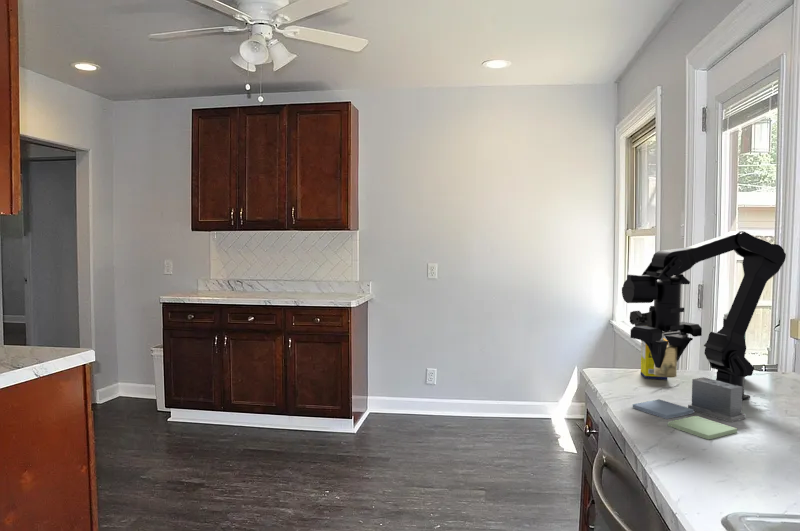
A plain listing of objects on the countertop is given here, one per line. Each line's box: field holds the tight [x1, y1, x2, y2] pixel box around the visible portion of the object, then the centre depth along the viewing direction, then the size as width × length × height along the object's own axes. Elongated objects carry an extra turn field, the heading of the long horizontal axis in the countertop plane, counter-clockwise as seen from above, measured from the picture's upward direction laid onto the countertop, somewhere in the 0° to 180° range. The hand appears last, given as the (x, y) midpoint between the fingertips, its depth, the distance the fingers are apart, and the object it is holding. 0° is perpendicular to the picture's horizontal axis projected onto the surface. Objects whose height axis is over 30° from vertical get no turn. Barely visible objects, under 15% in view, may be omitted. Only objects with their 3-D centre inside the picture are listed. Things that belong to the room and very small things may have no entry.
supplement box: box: [640, 337, 669, 381], centre depth 158 cm, size 6×6×11 cm
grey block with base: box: [687, 377, 746, 423], centre depth 125 cm, size 5×10×7 cm, turn 27°
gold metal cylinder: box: [654, 344, 678, 378], centre depth 136 cm, size 5×5×7 cm
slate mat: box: [632, 398, 695, 420], centre depth 128 cm, size 9×9×1 cm
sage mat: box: [667, 415, 738, 440], centre depth 115 cm, size 9×9×1 cm
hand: (665, 366), depth 136 cm, fingers closed on gold metal cylinder, 5 cm apart
